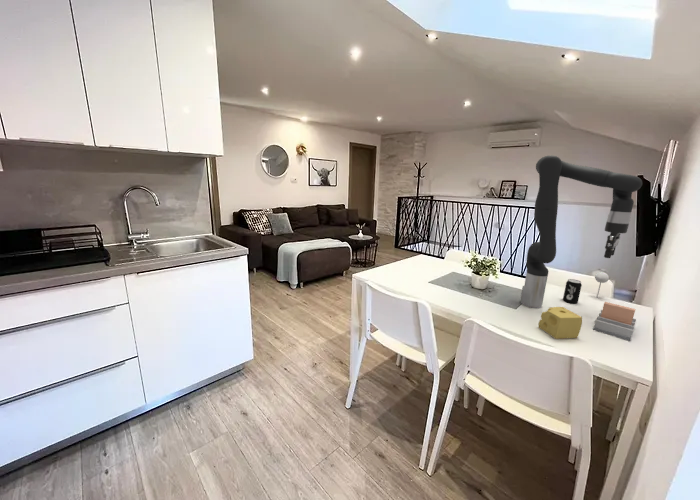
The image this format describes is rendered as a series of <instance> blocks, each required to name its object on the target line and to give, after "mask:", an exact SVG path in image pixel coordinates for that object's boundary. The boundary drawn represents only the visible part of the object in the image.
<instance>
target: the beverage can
mask: <svg viewBox="0 0 700 500" xmlns="http://www.w3.org/2000/svg"><path fill="white" fill-rule="evenodd" d="M582 286H583V285H582V281H581V280H578V279H575V278H568V279H567V281H566V282H565V287H564V292H563V297H562V300H563V301H564V302H566V303H569V304H572V305H573V304H577V303H579V299H580V295H581V289H582Z"/></svg>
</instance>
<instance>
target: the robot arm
mask: <svg viewBox="0 0 700 500" xmlns="http://www.w3.org/2000/svg"><path fill="white" fill-rule="evenodd" d="M535 171H536V172H537V173H538V177H539V186H538V187H539V188H538V191H537V196H536V198H535V202H534V203H535V204H534V212H533V217H534V218H533V219H534V222H535V225H536V227H537V230H538V233H539V238H540V240H539V241H536V242H535V241H534V242H533V243H532V244H530V245H529V247H528V249H527V252H526V253H527V254H526V263H525V265H526V274H525V281H524V285H522V289H521V293H520V299H519V303H521V304H522V305H523V306H526V307H527V308H534V309H540V308H542V307H543V304H544V297H545V291H546V287H547V281H548V276H549V273H550V272H549V269H548V268H547V267H546V265H545V264H550V263H553V261H554V259H555V258H556V255H557V239H556V238H557V235H556V234H557V219H558V217H557V216H558V210H559V209H558V208H559V207H558V205H559V182H560V178H561V177H562V178H567V179H570V180H574V181H578V182H581V183H585V184H587V185H593V186H596V187H600V188H609V189H612V202H611V205H610V210H609V213H608V215H607V218H606V223H605V227H604V231H605V232H608V233H610V234H609V235H607V236H606V237H607V238H606V242H605V246H604V249H605V252H604V256H603V257H604V258H605V259H611V257H612V256H614V255H615V252H616V248H618V245H619V242H620V240H621V234H626V233H628V229H629V225H630V221H631V216H632V210H633V207H634V203H635V201H634V199H633V198H632V195H633V193H635V192H637V191H639V190H640V189H641V187H642V186H643V180H642V179H641V178H640V177H638V175H637V176H636V175H632V174H626V173H619V172H613V171H610V170H606V169H602V168H599V167H598V168H597V167H592V166H586V165H585V166H584V165H580V164H575V163H574V164H573V163H569V162H566V161H564V160H561V158H560V157H559V156H557V155H553V154H551V155H546V156H545V155H544V156H542V157H541V158H540V159H538V161H537V162H536V163H535Z"/></svg>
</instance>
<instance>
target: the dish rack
mask: <svg viewBox="0 0 700 500" xmlns="http://www.w3.org/2000/svg"><path fill="white" fill-rule="evenodd" d="M602 310H603V309H600V311H599V313H598V315H597V316H596V317H597V318H596V319H595V320H594V325H593V327H592V330H593V331H595V332H598V333H601V334H605V335H609V336H612V337H615V338H618V339H621V340H625V341H628V342H630V341H631V338H632V335H633V332H634V329H635V325H636V321H637V318H634V317H633V320H632V324H631V325H628V324H625V323H621V322H617V321H614V320H610V319H607V318H603V317H601V314H602Z"/></svg>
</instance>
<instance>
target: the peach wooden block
mask: <svg viewBox="0 0 700 500" xmlns="http://www.w3.org/2000/svg"><path fill="white" fill-rule="evenodd" d="M601 310H602V314H601V317H603V318H607V319H610V320H614V321H617V322H621V323H625V324H628V325H631V324H632V320H633V318H634V316H635V312H636V309H635V308H632V307H629V306H624V305H622V304H621V305H620V304H617V303H613V302H609V301H604V303H603V306H602V309H601Z"/></svg>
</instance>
